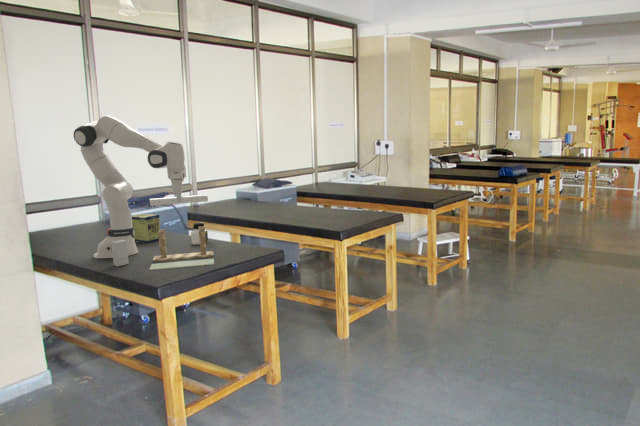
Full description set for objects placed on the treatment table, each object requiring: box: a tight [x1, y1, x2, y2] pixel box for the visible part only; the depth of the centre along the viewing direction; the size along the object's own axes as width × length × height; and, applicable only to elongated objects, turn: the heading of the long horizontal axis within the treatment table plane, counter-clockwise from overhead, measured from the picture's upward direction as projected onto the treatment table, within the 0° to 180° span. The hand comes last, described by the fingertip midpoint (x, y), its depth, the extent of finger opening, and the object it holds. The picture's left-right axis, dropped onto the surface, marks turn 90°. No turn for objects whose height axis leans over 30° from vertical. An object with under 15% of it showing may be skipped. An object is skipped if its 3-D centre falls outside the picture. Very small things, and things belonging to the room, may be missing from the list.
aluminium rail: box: [149, 194, 209, 207], centre depth 257 cm, size 28×3×3 cm, turn 103°
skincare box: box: [111, 240, 130, 267], centre depth 253 cm, size 6×4×12 cm
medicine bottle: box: [190, 221, 209, 245], centre depth 297 cm, size 7×7×12 cm
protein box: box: [132, 213, 161, 244], centre depth 309 cm, size 10×16×16 cm
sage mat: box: [149, 258, 215, 271], centre depth 250 cm, size 30×10×1 cm, turn 103°
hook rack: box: [152, 225, 215, 263], centre depth 264 cm, size 30×8×15 cm, turn 103°
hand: (179, 201), depth 257 cm, fingers closed on aluminium rail, 3 cm apart
